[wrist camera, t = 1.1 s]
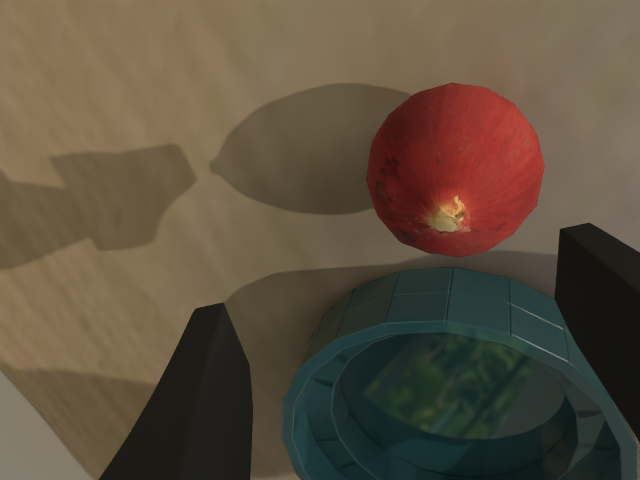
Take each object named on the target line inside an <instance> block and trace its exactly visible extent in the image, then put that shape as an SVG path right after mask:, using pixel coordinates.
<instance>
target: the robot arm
mask: <svg viewBox="0 0 640 480" xmlns="http://www.w3.org/2000/svg"><path fill="white" fill-rule="evenodd" d="M555 301H556V304H557V306H558V308H559V310H560V312H561V314H562V317H563V319H564V321H565V323H566V325H567V327H568V329H569V331H570V333H571V335H572V337H573V339H574V341H575V343H576V344H577V346H578V348H579V349H580V351H581V352H582V354H583V355H584V357H585V359H586V360H587V362H588V363H589V365H590V366H591V368H592V369H593V371H594V372H595V374H596V376H597V377H598V379H599V380H600V382H601V383H602V385H603V386H604V388H605V389H606V391H607V392H608V394H609V395H610V397H611V398H612V400H613V401H614V403H615V405H616V406H617V408H618V409H619V411H620V412H621V414H622V415H623V417H624V418H625V420H626V421H627V423H628V424H629V426H630V427H631V429H632V430H633V432H634V434H635V435H636V437H637V439H638V441H639V442H640V253H639V252H638V251H636V250H634V249H633V248H631V247H629V246H628V245H626V244H624V243H623V242H621V241H620V240H618V239H616V238H615V237H613V236H611V235H610V234H608V233H606V232H605V231H603V230H601V229H599V228H598V227H596V226H594V225H593V224H591V223H585V224H581V225H576V226H572V227H567V228H563V229H560V235H559V249H558V262H557V276H556V289H555ZM252 422H253V402H252V388H251V377H250V365H249V362H248V360H247V358H246V355H245V353H244V351H243V348H242V346H241V343H240V341H239V339H238V336H237V334H236V331H235V329H234V327H233V324H232V322H231V319H230V317H229V315H228V312H227V310H226V307H225V305H224V303H219V304H214V305H209V306H205V307H200V308H196V309H195V310H194V312H193V313H192V315H191V317H190V320H189V322H188V324H187V326H186V328H185V330H184V333H183V335H182V337H181V339H180V341H179V343H178V345H177V347H176V349H175V351H174V354H173V356H172V358H171V360H170V362H169V364H168V366H167V367H166V369H165V371H164V373H163V375H162V377H161V379H160V381H159V383H158V385H157V387H156V389H155V390H154V392H153V394H152V396H151V398H150V400H149V401H148V403H147V405H146V406H145V408H144V410H143V411H142V413H141V415H140V417H139V418H138V420H137V422H136V423H135V425H134V427H133V428H132V430H131V432H130V433H129V435H128V437H127V438H126V440H125V441H124V443H123V444H122V446H121V447H120V449H119V451H118V452H117V454H116V455H115V457H114V458H113V459H112V461H111V462H110V464H109V465H108V467H107V468H106V470H105V471H104V472H103V474H102V475H101V477H100V478H99V479H98V480H250V470H251V447H252Z"/></svg>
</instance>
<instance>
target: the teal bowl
mask: <svg viewBox="0 0 640 480" xmlns="http://www.w3.org/2000/svg"><path fill="white" fill-rule="evenodd" d="M282 439H283V442H284V445H285V447H286V450H287V453H288V455H289V458H290V461H291V463H292V466H293V469H294V471H295V473H296V474H297V476H298V477H299V478H300V480H637V446H636V442H635V438H634V434H633V430H632V429H631V427H630V426H629V424H628V423H627V421H626V420H625V418H624V417H623V415H622V414H621V412H620V411H619V409H618V408H617V406H616V405H615V403H614V401H613V400H612V398H611V397H610V395H609V394H608V392H607V391H606V389H605V388H604V386H603V385H602V383H601V382H600V380H599V379H598V377H597V376H596V374H595V372H594V371H593V369H592V368H591V366H590V365H589V363H588V362H587V360H586V359H585V357H584V355H583V354H582V352H581V351H580V349H579V348H578V346H577V344H576V343H575V341H574V339H573V337H572V335H571V333H570V331H569V329H568V327H567V325H566V323H565V321H564V319H563V317H562V314H561V312H560V310H559V308H558V306H557V304H556V301H555V299H553V298H551V297H549V296H547V295H545V294H543V293H541V292H538V291H536V290H534V289H532V288H530V287H528V286H526V285H524V284H522V283H520V282H518V281H516V280H514V279H512V278H507V277H503V276H498V275H492V274H487V273H482V272H476V271H471V270H466V269H460V268H452V267H446V268H432V269H419V270H406V271H400V272H396V273H393V274H391V275H388V276H385V277H383V278H380V279H377V280H375V281H372V282H370V283H367V284H364V285H362V286H359V287H357V288H355V289H353V290H352V291H351V292H349V293H348V294H347V295H346V296H345V297H343V298H342V299H341V300H340V301H339V302H338V303H336V304H335V305H334V306H333V307H332V308H331V309H329V310H328V311H327V312H326V313H325V314H324V315H323V316H322V318H321V320H320V322H319V323H318V325H317V327H316V329H315V331H314V333H313V335H312V337H311V339H310V341H309V343H308V345H307V347H306V349H305V352H304V354H303V356H302V358H301V360H300V363H299V365H298V367H297V369H296V372H295V374H294V376H293V378H292V380H291V383H290V385H289V387H288V389H287V391H286V394H285V396H284V398H283V404H282Z"/></svg>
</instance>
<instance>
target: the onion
mask: <svg viewBox="0 0 640 480" xmlns="http://www.w3.org/2000/svg"><path fill="white" fill-rule="evenodd" d="M544 167H545V165H544V161H543V157H542V153H541V149H540V145H539V141H538V137H537V134H536V132H535V130H534V129H533V127H532V126H531V125H530V124H529V122H528V121H527V120H526V118H525V117H524V116H523V114H522V113H521V112H520V111H519V109H518V108H517V107H516V105H515V104H513V103H512V102H510V101H508V100H507V99H505V98H503V97H501V96H500V95H498V94H496V93H494V92H493V91H491V90H489V89H487V88H485V87H478V86H471V85H464V84H457V83H449V84H446V85H443V86H439V87H435V88H432V89H428V90H424V91H421V92H418V93H416V94H414V95H413V96H411V97H410V98H409V99H408V100H407V101H405V102H404V103H403V104H402V105H400V106H399V107H398V108H397V109H395V110H394V111H393V112H392V113H390V114H389V115H388V117H387V118H386V120H385V122H384V123H383V125H382V126H381V128H380V129H379V131H378V132H377V134H376V136H375V137H374V139H373V140H372V145H371V149H370V156H369V163H368V170H367V177H366V181H367V184H368V188H369V191H370V194H371V198H372V201H373V204H374V208H375V211H376V213H377V215H378V217H379V218H380V219H381V221H382V222H383V223H384V224H385V225H386V226H387V228H388V229H389V230H390V231H391V232H392V233H393V235H394V236H395V237H396V238H397V239H398V240H399V241H400V242H402V243H403V244H406V245H409V246H412V247H415V248H417V249H419V250H422V251H424V252H427V253H430V254H440V255H446V256H452V257H464V256H468V255H473V254H477V253H482V252H486V251H488V250H489V249H491V248H492V247H494V246H496V245H497V244H499V243H500V242H502V241H503V240H505V239H506V238H508V237H510V236H511V235H513V234H514V232H515V231H516V230H517V229H518V227H519V226H520V225H521V224H522V222H523V221H524V220H525V218H526V217H527V216H528V215H529V214H530V213H531V211H532V210H533V209H534V208H535V207H536V206H537V201H538V196H539V191H540V187H541V182H542V177H543V172H544Z"/></svg>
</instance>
